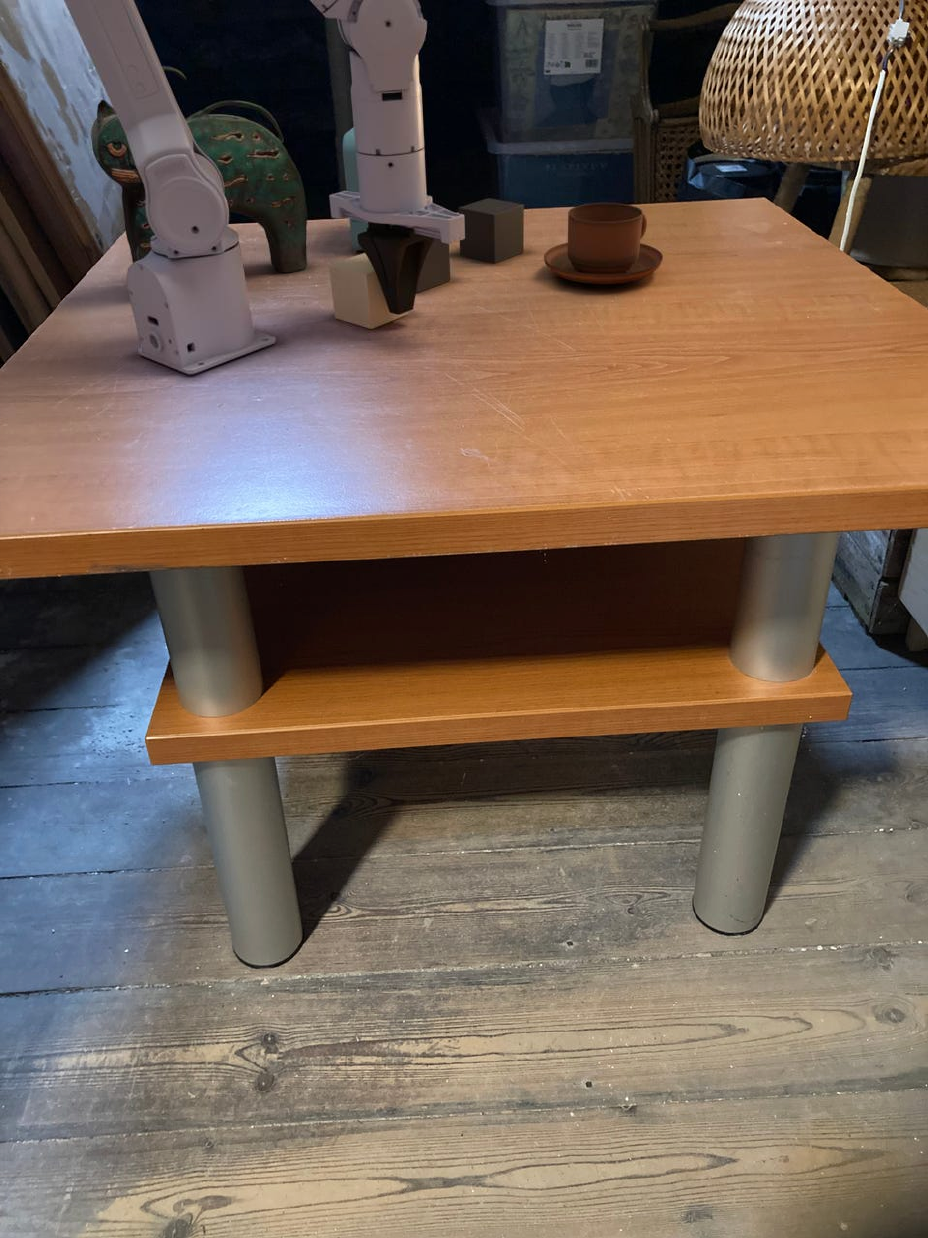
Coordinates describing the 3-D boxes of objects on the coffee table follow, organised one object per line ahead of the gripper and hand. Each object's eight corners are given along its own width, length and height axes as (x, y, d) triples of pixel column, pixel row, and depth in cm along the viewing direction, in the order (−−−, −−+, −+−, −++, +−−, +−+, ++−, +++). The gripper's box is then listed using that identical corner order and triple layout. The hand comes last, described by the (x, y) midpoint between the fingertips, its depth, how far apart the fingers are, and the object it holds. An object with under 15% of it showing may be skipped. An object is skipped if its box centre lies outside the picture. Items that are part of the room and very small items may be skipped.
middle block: (417, 293, 96) (414, 241, 93) (382, 283, 99) (378, 233, 96) (450, 280, 99) (449, 229, 96) (415, 271, 102) (413, 221, 99)
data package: (391, 254, 107) (383, 135, 100) (352, 254, 107) (340, 135, 100) (411, 225, 116) (405, 114, 109) (375, 224, 117) (366, 114, 110)
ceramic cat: (135, 308, 95) (81, 77, 83) (118, 290, 100) (65, 70, 88) (320, 271, 103) (295, 55, 91) (296, 256, 107) (269, 49, 95)
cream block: (371, 329, 88) (366, 274, 85) (334, 318, 91) (328, 264, 88) (409, 314, 91) (405, 260, 88) (372, 303, 94) (367, 251, 91)
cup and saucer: (574, 252, 106) (576, 192, 102) (678, 266, 101) (684, 203, 97) (523, 283, 98) (523, 219, 94) (633, 301, 92) (638, 234, 89)
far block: (494, 263, 103) (494, 214, 100) (459, 255, 106) (458, 207, 103) (523, 252, 106) (524, 204, 103) (489, 244, 109) (488, 197, 106)
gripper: (487, 149, 78) (489, 314, 86) (364, 131, 86) (377, 283, 94) (428, 166, 74) (436, 337, 82) (304, 144, 82) (323, 303, 90)
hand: (401, 310), depth 88 cm, fingers closed
